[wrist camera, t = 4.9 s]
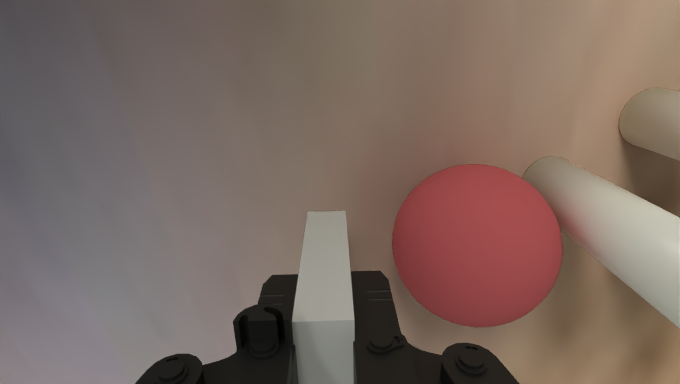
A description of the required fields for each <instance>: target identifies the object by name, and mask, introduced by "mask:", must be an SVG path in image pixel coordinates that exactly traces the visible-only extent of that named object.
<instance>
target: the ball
mask: <svg viewBox="0 0 680 384" xmlns="http://www.w3.org/2000/svg"><path fill="white" fill-rule="evenodd" d="M392 247H393V255H394V260H395V264H396V268H397V270H398V273H399V275H400V277H401V279H402V281H403V283H404V285H405V286H406V287H407V289H408V290H409V292H410V293H411V294H412V296H413V297H414V298H415V299H416V300H417V301H418V302H419V303H420V304H421V305H422V306H424V307H425V308H426V309H428V310H429V311H430V312H432V313H433V314H435V315H437V316H439V317H441V318H443V319H445V320H448V321H450V322H453V323H456V324H460V325H464V326H471V327H491V326H497V325H502V324H506V323H509V322H512V321H514V320H516V319H518V318H520V317H522V316H524V315H526V314H527V313H529V312H530V311H532V310H533V309H534V308H535V307H536V306H538V305H539V304H540V303H541V302H542V301H543V299H544V298H545V297H546V296H547V295H548V293H549V292H550V290H551V289H552V287H553V285H554V283H555V281H556V279H557V276H558V273H559V270H560V267H561V261H562V255H563V253H562V238H561V232H560V227H559V224H558V221H557V218H556V216H555V214H554V212H553V210H552V209H551V207H550V206H549V204H548V203H547V201H546V200H545V198H544V197H543V196H542V195H541V194H540V193H539V192H538V190H537V189H536V188H534V187H533V186H532V185H531V184H530V183H528V182H527V181H525V180H524V179H522V178H521V177H519V176H517V175H515V174H513V173H511V172H509V171H507V170H504V169H501V168H497V167H494V166H488V165H479V164H469V165H460V166H455V167H450V168H447V169H444V170H441V171H439V172H437V173H435V174H433V175H431V176H430V177H428V178H427V179H425V180H424V181H422V182H421V183H420V184H419V185H418V186H417V187H416V188H415V189H414V190H413V191H412V192H411V193H410V194H409V195H408V197H407V198H406V200H405V201H404V202H403V204H402V206H401V208H400V210H399V212H398V215H397V218H396V221H395V224H394V230H393V238H392Z"/></svg>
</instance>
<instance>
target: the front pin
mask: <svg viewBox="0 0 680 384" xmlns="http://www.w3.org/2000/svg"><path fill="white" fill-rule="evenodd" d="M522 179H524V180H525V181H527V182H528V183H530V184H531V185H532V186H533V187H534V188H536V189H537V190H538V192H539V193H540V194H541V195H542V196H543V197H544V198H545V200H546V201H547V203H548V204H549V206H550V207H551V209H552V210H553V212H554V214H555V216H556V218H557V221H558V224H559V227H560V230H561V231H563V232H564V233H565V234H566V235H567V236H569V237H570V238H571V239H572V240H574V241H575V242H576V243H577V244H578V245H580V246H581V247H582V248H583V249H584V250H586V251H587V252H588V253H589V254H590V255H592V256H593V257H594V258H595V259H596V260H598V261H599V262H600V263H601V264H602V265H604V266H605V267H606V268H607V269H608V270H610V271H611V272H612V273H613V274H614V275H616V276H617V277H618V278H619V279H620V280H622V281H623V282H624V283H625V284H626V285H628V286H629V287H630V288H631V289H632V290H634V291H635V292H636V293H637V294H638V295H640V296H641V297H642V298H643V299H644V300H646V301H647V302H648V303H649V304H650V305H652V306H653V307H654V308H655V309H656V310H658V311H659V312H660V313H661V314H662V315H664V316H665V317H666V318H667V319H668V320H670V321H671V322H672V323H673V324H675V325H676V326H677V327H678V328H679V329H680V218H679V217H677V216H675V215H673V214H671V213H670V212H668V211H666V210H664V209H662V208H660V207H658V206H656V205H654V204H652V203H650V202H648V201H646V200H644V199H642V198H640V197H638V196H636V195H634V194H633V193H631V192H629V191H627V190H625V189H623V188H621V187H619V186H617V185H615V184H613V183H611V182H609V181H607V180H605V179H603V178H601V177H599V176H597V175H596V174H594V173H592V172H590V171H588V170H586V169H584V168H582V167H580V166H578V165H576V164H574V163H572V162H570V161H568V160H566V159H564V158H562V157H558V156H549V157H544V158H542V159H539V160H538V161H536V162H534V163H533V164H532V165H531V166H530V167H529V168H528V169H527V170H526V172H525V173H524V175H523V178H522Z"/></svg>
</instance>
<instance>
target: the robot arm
mask: <svg viewBox="0 0 680 384" xmlns="http://www.w3.org/2000/svg"><path fill="white" fill-rule="evenodd" d="M233 325H234V332H235V339H236V346H237V351H236V353H235V354H233V355H231V356H230V357H228V358H225V359H222V360H220V361H216V362H213V363H209V364H205V365H202V362H201V361H200V360H199V359H198V358H197V357H196V356H193V355H191V354H175V355H172V356H168V357H165V358H163V359H162V360H160V361H158V362H156V363H155V364H153V365H152V366H151V367H150V368H149V369H148V370H147V371H146V372H145V373H144V374H143V375H142V376H141V378H140V379H139V380H138V381H137V382H136V383H135V384H519V383H518V382H517V380H516V379H515V378H514V377H513V376H512V375H511V373H510V372H509V371H508V370H507V369H506V367H505V366H504V365H503V364H502V363H501V362H500V360H499V359H498V358H497V357H496V356H495V355H494V354H492V353H491V352H490V351H489V350H487V349H485V348H483V347H481V346H479V345H475V344H470V343H456V344H454V345H451V346H449V347H447V348H446V350H445V351H444V352H443V354H442V355H438V354H434V353H429V352H425V351H422V350H419V349H417V348H415V347H413V346H412V345H411V344H409V343H408V342H407V340H406V338H405V336H403V335H402V334H401V331H400V327H399V323H398V319H397V314H396V310H395V306H394V302H393V298H392V293H391V289H390V285H389V281H388V279H387V278H386V277H385V276H384V274H383V273H382V272H381V271H352V272H351V271H350V259H349V247H348V234H347V222H346V211H321V212H307V218H306V225H305V232H304V239H303V246H302V253H301V260H300V267H299V274H292V275H272V276H271V277H270V278H269V279H268V280H267V281H266V282H265V283H264V284H263V287H262V290H261V294H260V297H259V301H258V305H254V306H251V307H249V308H246V309H244V310H243V311H242V312H240V313H239V314H238V315H237V316H236V318H235V319H234V321H233Z"/></svg>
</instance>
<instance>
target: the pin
mask: <svg viewBox="0 0 680 384" xmlns="http://www.w3.org/2000/svg"><path fill="white" fill-rule="evenodd" d="M619 130H620V133H621V135H622V137H623V138H624V139H625V140H626V141H627V142H628V143H630V144H633V145H636V146H638V147H641V148H644V149H647V150H650V151H653V152H655V153H658V154H661V155H664V156H667V157H670V158H673V159H675V160H678V161H680V91H676V90H669V89H663V88H651V89H647V90H644V91H642V92H640V93H638V94H637V95H635V96H634V97H633V98H632V99H631V100H630V101H629V102H628V103H627V104H626V106H625V107H624V109H623V111H622V113H621V116H620V119H619Z"/></svg>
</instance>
